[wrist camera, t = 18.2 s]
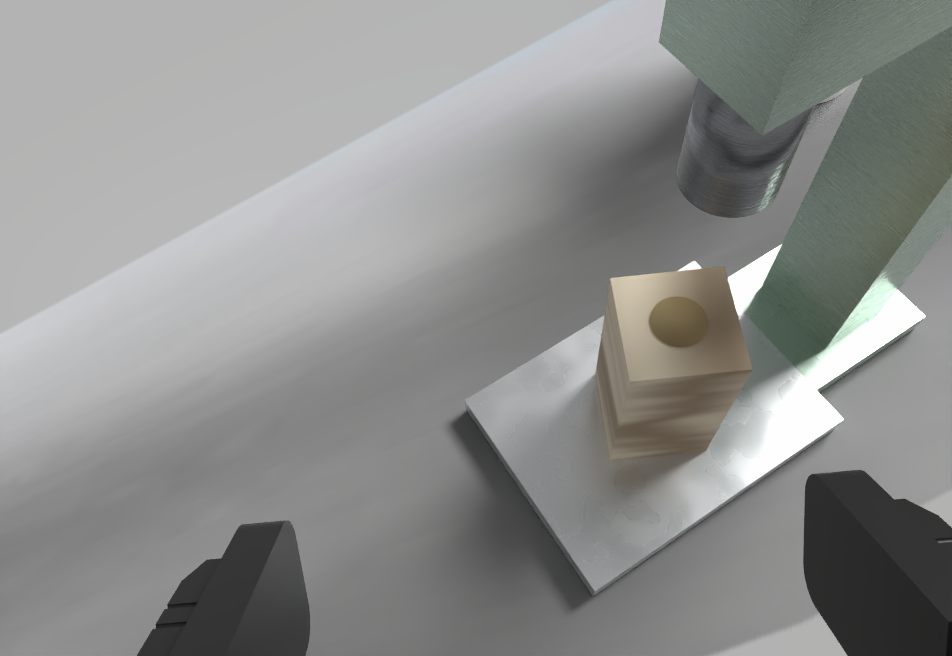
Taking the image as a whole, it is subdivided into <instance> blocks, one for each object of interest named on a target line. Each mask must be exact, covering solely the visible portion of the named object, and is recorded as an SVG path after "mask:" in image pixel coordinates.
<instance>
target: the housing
mask: <svg viewBox="0 0 952 656" xmlns="http://www.w3.org/2000/svg"><path fill="white" fill-rule="evenodd" d="M751 371H752V366H751V362H750V358H749V355H748V351H747V348H746V344H745V340H744V337H743V333H742V329H741V326H740V322H739V318H738V315H737V311H736V307H735V304H734V300H733V296H732V293H731V289H730V285H729V282H728V278H727V274H726V271H725V267H724V266H723V267H714V268H704V269H694V270H685V271H675V272H665V273H656V274H646V275H636V276H627V277H617V278H610V283H609V289H608V296H607V302H606V309H605V315H604V321H603V328H602V334H601V341H600V347H599V353H598V360H597V366H596V373H595V374H596V380H597V386H598V392H599V398H600V404H601V410H602V416H603V422H604V428H605V434H606V440H607V446H608V452H609V458H610V460H618V459H628V458H639V457H649V456H659V455H669V454H679V453H690V452H700V451H706V450H707V448H708V446H709V445H710V443H711V441H712V439H713V438H714V436H715V434H716V432H717V431H718V429H719V427H720V425H721V424H722V422H723V420H724V418H725V417H726V415H727V413H728V411H729V410H730V408H731V406H732V404H733V403H734V401H735V399H736V397H737V396H738V394H739V392H740V390H741V389H742V387H743V385H744V383H745V382H746V380H747V378H748V376H749V375H750V373H751Z"/></svg>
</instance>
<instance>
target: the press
mask: <svg viewBox="0 0 952 656" xmlns="http://www.w3.org/2000/svg"><path fill="white" fill-rule="evenodd" d="M659 43H660V44H661V45H663V46H664V47H665V48H666V49H667V50H668V51H669V52H670V53H671V54H672V55H674V56H675V57H676V58H677V59H678V60H679V61H680V62H681V63H682V64H684V65H685V66H686V67H687V68H688V69H689V70H690V71H691V72H692V73H693V74H695V75H696V76H697V77H698V82H697V86H696V90H695V94H694V98H693V103H692V107H691V111H690V115H689V119H688V123H687V127H686V132H685V136H684V140H683V144H682V148H681V152H680V156H679V161H678V165H677V169H676V179H677V183H678V186H679V188H680V191H681V192H682V194H683V195H684V196H685V198H686V199H687V200H688V201H689V202H690V203H692V204H693V205H694V206H696V207H697V208H699V209H700V210H702V211H704V212H707V213H709V214H712V215H716V216H720V217H728V218H738V217H745V216H749V215H753V214H755V213H758V212H760V211H762V210H763V209H765V208H766V207H767V206H768V205H770V204H771V203H772V201H773V200H774V199H775V197H776V195H777V193H778V191H779V189H780V186H781V184H782V182H783V180H784V177H785V175H786V173H787V170H788V168H789V166H790V163H791V161H792V159H793V157H794V154H795V152H796V150H797V147H798V145H799V143H800V140H801V138H802V136H803V134H804V131H805V129H806V127H807V124H808V122H809V120H810V117H811V115H812V113H813V111H814V108H815V106H816V104H818V103H820V102H821V101H823V100H825V99H827V98H828V97H830V96H832V95H833V94H835V93H837V92H839V91H840V90H842V89H844V88H846V87H847V86H849V85H851V84H852V83H854V82H856V81H858V80H859V79H861V78H863V79H862V81H861V83H860V85H859V87H858V89H857V91H856V93H855V95H854V97H853V99H852V102H851V104H850V106H849V108H848V110H847V112H846V114H845V116H844V118H843V120H842V122H841V124H840V126H839V128H838V130H837V132H836V134H835V136H834V138H833V140H832V143H831V145H830V147H829V149H828V151H827V153H826V155H825V157H824V159H823V161H822V163H821V165H820V167H819V169H818V171H817V173H816V175H815V177H814V179H813V182H812V184H811V186H810V188H809V190H808V192H807V194H806V196H805V198H804V200H803V202H802V204H801V206H800V208H799V210H798V212H797V214H796V216H795V218H794V220H793V223H792V225H791V227H790V229H789V231H788V233H787V235H786V237H785V239H784V241H783V243H782V245H780V246H778V247H777V248H775V249H773V250H772V251H770V252H769V253H767V254H765V255H764V256H762V257H761V258H759V259H757V260H756V261H754V262H752V263H751V264H749V265H748V266H746V267H744V268H743V269H741V270H740V271H738V272H736V273H735V274H733V275H732V276H730V277H728V282H729V285H730V289H731V293H732V296H733V300H734V304H735V307H736V311H737V315H738V318H739V322H740V326H741V329H742V333H743V337H744V340H745V344H746V348H747V351H748V355H749V358H750V362H751V366H752V371H751V373H750V375H749V376H748V378H747V380H746V382H745V383H744V385H743V387H742V389H741V390H740V392H739V394H738V396H737V397H736V399H735V401H734V403H733V404H732V406H731V408H730V410H729V411H728V413H727V415H726V417H725V418H724V420H723V422H722V424H721V425H720V427H719V429H718V431H717V432H716V434H715V436H714V438H713V439H712V441H711V443H710V445H709V446H708V448H707V450H706V451H700V452H690V453H679V454H669V455H659V456H649V457H639V458H628V459H618V460H610V458H609V452H608V446H607V440H606V434H605V428H604V422H603V416H602V410H601V404H600V398H599V392H598V386H597V380H596V374H595V373H596V366H597V360H598V353H599V347H600V341H601V334H602V328H603V321H604V316H602V317H601V318H599V319H598V320H596V321H594V322H593V323H591V324H589V325H588V326H586V327H584V328H583V329H581V330H579V331H578V332H576V333H574V334H573V335H571V336H570V337H568V338H566V339H565V340H563V341H561V342H560V343H558V344H556V345H555V346H553V347H551V348H550V349H548V350H547V351H545V352H543V353H542V354H540V355H538V356H537V357H535V358H533V359H532V360H530V361H528V362H527V363H525V364H523V365H522V366H520V367H519V368H517V369H515V370H514V371H512V372H510V373H509V374H507V375H505V376H504V377H502V378H500V379H499V380H497V381H495V382H494V383H492V384H491V385H489V386H487V387H486V388H484V389H482V390H481V391H479V392H477V393H476V394H474V395H472V396H471V397H469V398H468V399H466V400H465V405H466V409H467V412H468V413H469V415H470V416H471V418H472V419H473V421H474V422H475V424H476V425H477V426H478V428H479V429H480V431H481V432H482V434H483V435H484V437H485V438H486V440H487V441H488V443H489V444H490V446H491V447H492V449H493V450H494V452H495V453H496V454H497V456H498V457H499V459H500V460H501V462H502V463H503V465H504V466H505V468H506V469H507V471H508V472H509V474H510V475H511V477H512V478H513V480H514V481H515V482H516V484H517V485H518V487H519V488H520V490H521V491H522V493H523V494H524V496H525V497H526V499H527V500H528V502H529V503H530V505H531V506H532V508H533V509H534V511H535V512H536V513H537V515H538V516H539V518H540V519H541V521H542V522H543V524H544V525H545V527H546V528H547V530H548V531H549V533H550V534H551V536H552V537H553V539H554V540H555V541H556V543H557V544H558V546H559V547H560V549H561V550H562V552H563V553H564V555H565V556H566V558H567V559H568V561H569V562H570V564H571V565H572V567H573V568H574V569H575V571H576V572H577V574H578V575H579V577H580V578H581V580H582V581H583V583H584V584H585V586H586V587H587V589H588V590H589V592H590V593H591V595H592V596H595V595H596V594H598V593H599V592H601V591H602V590H603V589H605V588H606V587H608V586H609V585H611V584H612V583H613V582H615V581H616V580H618V579H619V578H621V577H622V576H624V575H625V574H626V573H628V572H629V571H631V570H632V569H634V568H635V567H637V566H638V565H639V564H641V563H642V562H644V561H645V560H647V559H648V558H650V557H651V556H652V555H654V554H655V553H657V552H658V551H660V550H661V549H663V548H664V547H665V546H667V545H668V544H670V543H671V542H673V541H674V540H675V539H677V538H678V537H680V536H681V535H683V534H684V533H686V532H687V531H688V530H690V529H691V528H693V527H694V526H696V525H697V524H699V523H700V522H701V521H703V520H704V519H706V518H707V517H709V516H710V515H712V514H713V513H714V512H716V511H717V510H719V509H720V508H722V507H723V506H725V505H726V504H727V503H729V502H730V501H732V500H733V499H735V498H736V497H738V496H739V495H740V494H742V493H743V492H745V491H746V490H748V489H749V488H750V487H752V486H753V485H755V484H756V483H758V482H759V481H761V480H762V479H763V478H765V477H766V476H768V475H769V474H771V473H772V472H774V471H775V470H776V469H778V468H779V467H781V466H782V465H784V464H785V463H787V462H788V461H789V460H791V459H792V458H794V457H795V456H797V455H798V454H800V453H801V452H802V451H804V450H805V449H807V448H808V447H810V446H811V445H812V444H814V443H815V442H817V441H818V440H820V439H821V438H823V437H824V436H825V435H827V434H828V433H830V432H831V431H833V430H834V429H835V428H836V427H837V426H838V425H839V424H840V423H841V422H842V421H843V420H844V419H843V418H842V417H841V416H840V415H839V414H838V413H837V411H836V410H835V409H834V408H833V407H832V406H831V405H830V404H829V403H828V402H827V401H826V400H825V399H824V398H823V397H822V396H821V394H820V392H822V391H823V390H825V389H826V388H828V387H829V386H831V385H832V384H834V383H835V382H836V381H838V380H839V379H841V378H842V377H844V376H845V375H847V374H848V373H850V372H851V371H853V370H854V369H856V368H857V367H859V366H860V365H862V364H863V363H865V362H866V361H867V360H869V359H870V358H872V357H873V356H875V355H876V354H878V353H879V352H881V351H882V350H884V349H885V348H887V347H888V346H890V345H891V344H893V343H894V342H895V341H897V340H898V339H900V338H901V337H903V336H904V335H906V334H907V333H909V332H910V331H912V330H913V329H914V328H915V327H916V326H917V325H918V324H919V323H920V322H921V321H922V320H923V319H924V317H925V315H924V314H923V313H922V312H921V311H919V310H918V309H917V308H916V307H915V306H914V305H913V304H912V303H911V302H910V301H909V300H908V299H907V298H905V297H904V296H903V295H902V294H901V293H900V292H899V291H898V289H899V288H900V287H901V285H902V284H903V283H904V282H905V280H906V279H907V278H908V277H909V275H910V274H911V273H912V271H913V270H914V269H915V268H916V266H917V265H918V264H919V263H920V261H921V260H922V259H923V258H924V256H925V255H926V254H927V253H928V251H929V250H930V249H931V247H932V246H933V245H934V244H935V242H936V241H937V240H938V239H939V237H940V236H941V235H942V234H943V232H944V231H945V230H946V228H947V227H948V226H949V225H950V223H951V222H952V0H666V4H665V10H664V16H663V22H662V27H661V33H660V39H659ZM694 269H702V268H701V267H700V266H699V265H698V264H697V263H696V262H695V261H693V262H691V263H690V264H688V265H686V266H685V267H683V268H681V269H680V270H678V271H685V270H694Z"/></svg>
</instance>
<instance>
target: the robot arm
mask: <svg viewBox="0 0 952 656" xmlns="http://www.w3.org/2000/svg"><path fill="white" fill-rule="evenodd" d="M803 564H804V574H805V580H806V584H807V588H808V591H809V594H810V597H811V599H812V601H813V603H814V605H815V607H816V608H817V610H818V611H819V613H820V614H821V616H822V617H823V619H824V620H825V622H826V623H827V625H828V627H829V628H830V630H831V631H832V632H833V634H834V635H835V637H836V638H837V640H838V642H839V643H840V645H841V646H842V648H843V649H844V651H845V652H846V654H847V655H848V656H952V528H951V527H950V526H949V525H948V524H947V523H946V522H945V521H943V519H941V518H940V517H939V516H938V515H936V514H934V513H932V512H930V511H928V510H926V509H924V508H922V507H920V506H918V505H916V504H914V503H912V502H910V501H908V500H906V499H897V500H894V499H893V498H892V497H891V496H890V495H889V494H888V493H887V492H886V491H885V490H884V489H883V488H882V487H880V486H879V485H878V484H877V483H876V482H875V481H874V480H873V479H872V478H871V477H870V476H869V475H868V474H867V473H866V472H865V471H862V470H853V471H842V472H831V473H820V474H812V475H810V476H809V477H808V479H807V482H806V486H805V516H804V558H803ZM309 635H310V612H309V604H308V599H307V593H306V588H305V583H304V577H303V572H302V567H301V561H300V556H299V551H298V546H297V540H296V535H295V531H294V528H293V526H292V524H291V522H290V521H288V520H287V521H276V522H265V523H254V524H243V525H240V526H239V528H238V529H237V531H236V533H235V534H234V536H233V538H232V540H231V542H230V544H229V546H228V547H227V549H226V551H225V553H224V555H223V557H222V558H221V559H210V560H206V561H205V562H204V563H203V564H201V565H200V566H199V567H198V568H197V569H195V570H194V571H193V572H192V573H191V574H190V575H188V576H187V577H186V578H185V579H184V580H182V581H181V583H180V585H179V586H178V588H177V590H176V591H175V593H174V595H173V596H172V598H171V600H170V601H169V603H168V609H165V610H164V611H163V613H162V615H161V616H160V618H159V620H158V621H157V623H156V629H153V630H152V631H151V633H150V635H149V636H148V638H147V640H146V641H145V643H144V645H143V646H142V648H141V650H140V651H139V653H138V655H137V656H305V655H306V651H307V648H308V643H309Z"/></svg>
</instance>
